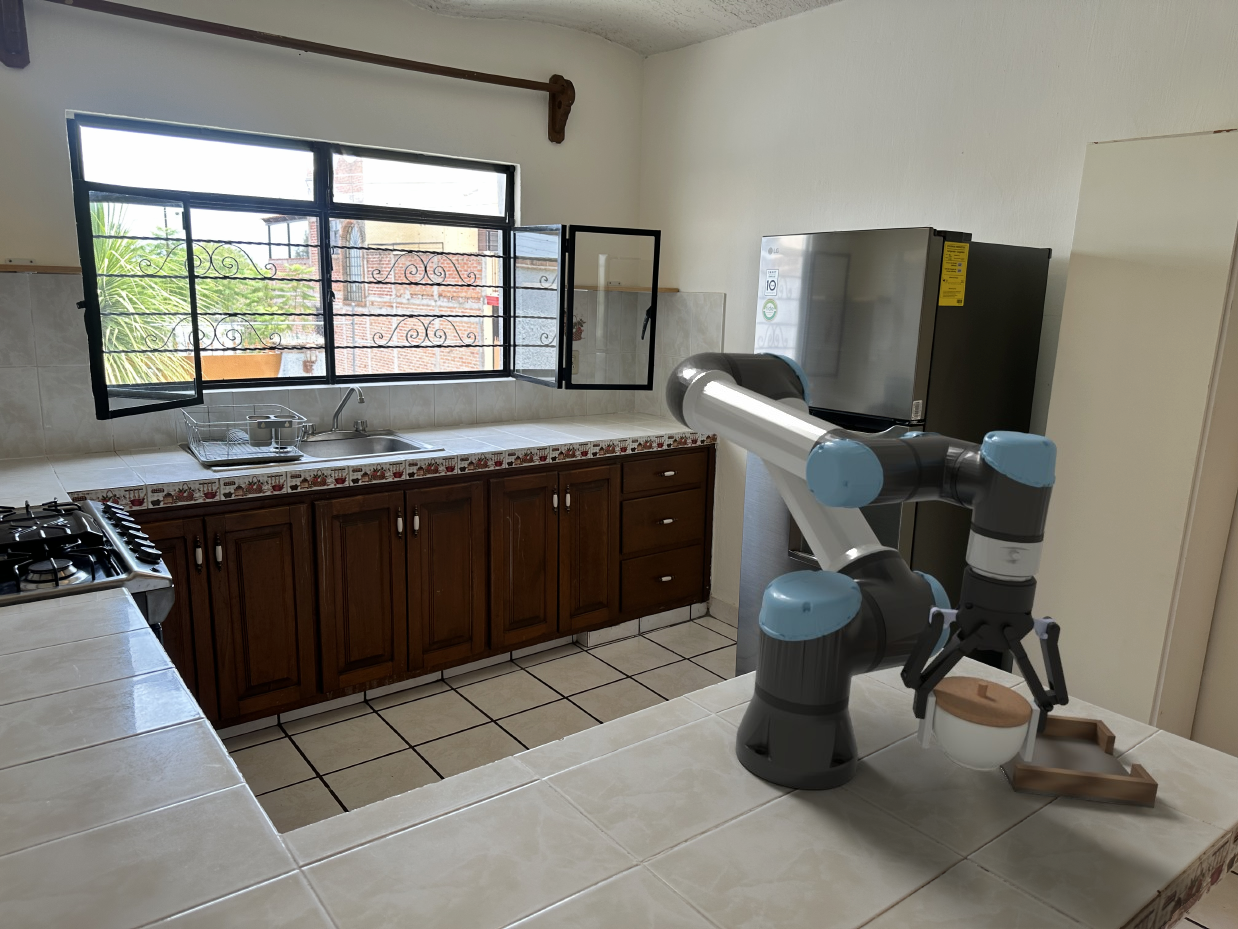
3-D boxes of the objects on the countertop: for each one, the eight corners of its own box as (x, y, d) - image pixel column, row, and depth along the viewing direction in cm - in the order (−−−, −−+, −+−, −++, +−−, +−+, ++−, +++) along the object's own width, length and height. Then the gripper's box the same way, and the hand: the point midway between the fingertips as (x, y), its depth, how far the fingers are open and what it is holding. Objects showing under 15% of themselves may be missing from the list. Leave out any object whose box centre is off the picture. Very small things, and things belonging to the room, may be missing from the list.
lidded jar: (1002, 738, 104) (1014, 667, 102) (1036, 787, 93) (1049, 710, 92) (914, 729, 105) (923, 659, 103) (937, 777, 94) (948, 700, 92)
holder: (1014, 791, 102) (1017, 768, 101) (977, 727, 117) (980, 707, 117) (1153, 808, 100) (1158, 784, 99) (1097, 741, 115) (1101, 720, 115)
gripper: (900, 570, 92) (876, 753, 97) (1125, 592, 89) (1090, 779, 94) (888, 550, 100) (867, 721, 104) (1096, 570, 97) (1065, 745, 101)
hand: (972, 749), depth 99 cm, fingers closed on lidded jar, 11 cm apart
